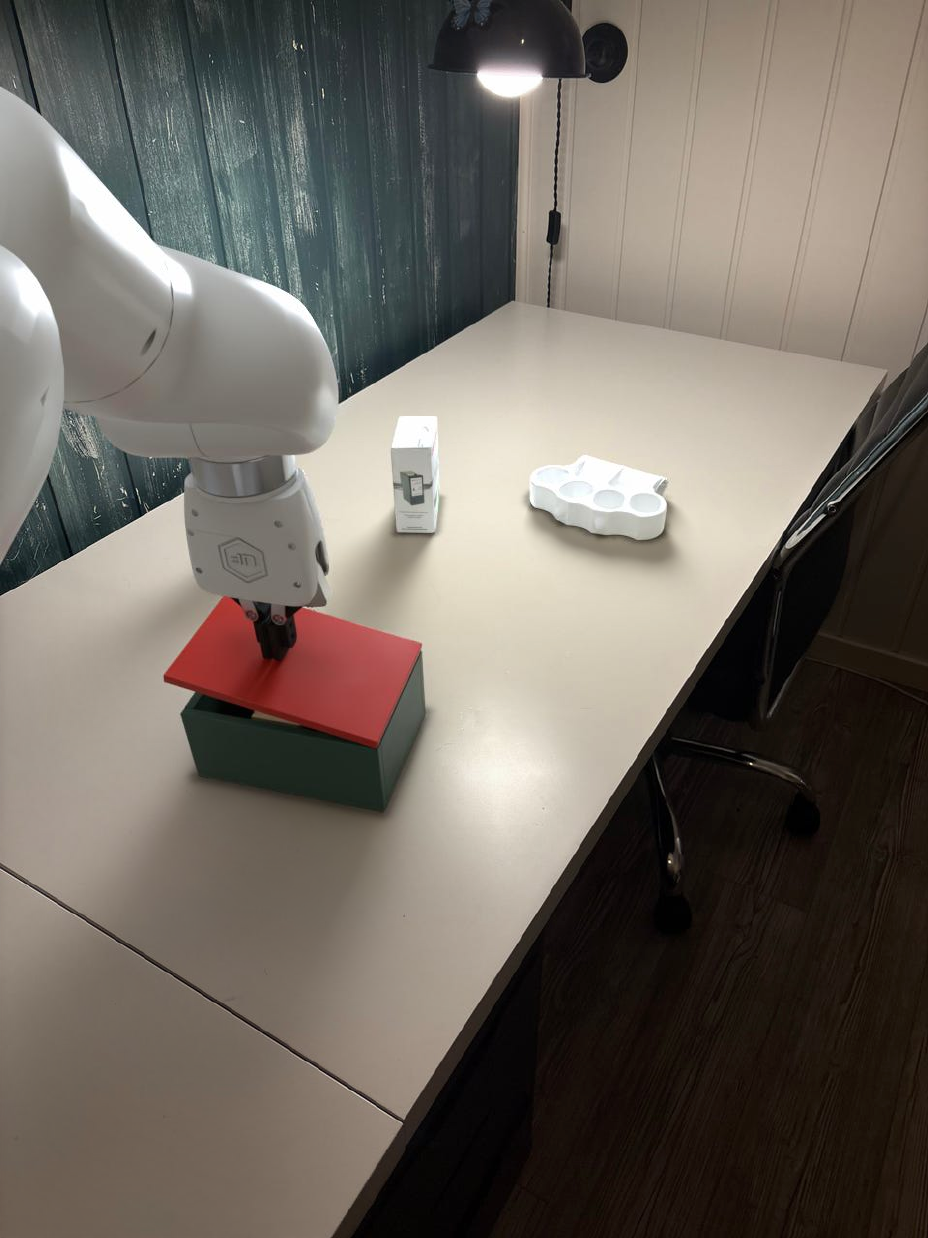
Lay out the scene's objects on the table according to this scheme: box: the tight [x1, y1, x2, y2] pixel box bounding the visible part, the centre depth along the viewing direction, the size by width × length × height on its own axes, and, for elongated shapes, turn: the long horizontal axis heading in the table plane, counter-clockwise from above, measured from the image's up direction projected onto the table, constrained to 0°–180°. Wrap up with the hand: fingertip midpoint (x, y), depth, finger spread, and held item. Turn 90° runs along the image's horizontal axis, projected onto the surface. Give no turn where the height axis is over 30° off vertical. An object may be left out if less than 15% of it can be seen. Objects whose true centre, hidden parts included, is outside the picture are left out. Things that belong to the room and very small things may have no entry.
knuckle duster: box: [529, 454, 669, 541], centre depth 115 cm, size 3×18×15 cm
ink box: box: [390, 415, 440, 534], centre depth 112 cm, size 9×5×12 cm, turn 177°
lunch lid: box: [163, 596, 423, 748], centre depth 79 cm, size 18×13×1 cm
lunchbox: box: [179, 650, 427, 813], centre depth 83 cm, size 18×13×8 cm
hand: (279, 649), depth 79 cm, fingers closed
